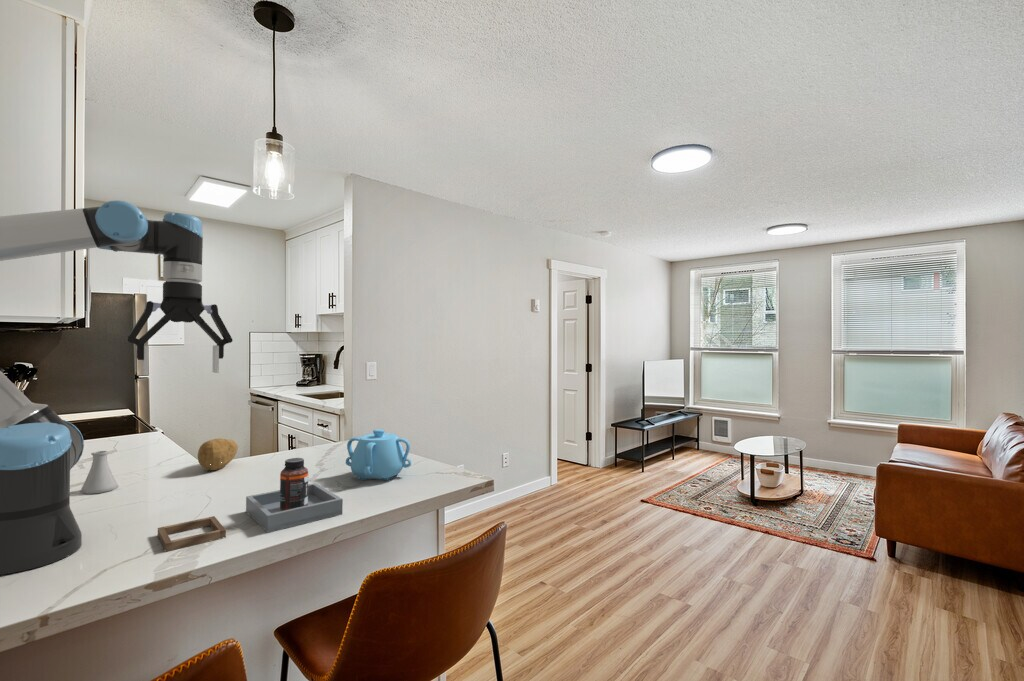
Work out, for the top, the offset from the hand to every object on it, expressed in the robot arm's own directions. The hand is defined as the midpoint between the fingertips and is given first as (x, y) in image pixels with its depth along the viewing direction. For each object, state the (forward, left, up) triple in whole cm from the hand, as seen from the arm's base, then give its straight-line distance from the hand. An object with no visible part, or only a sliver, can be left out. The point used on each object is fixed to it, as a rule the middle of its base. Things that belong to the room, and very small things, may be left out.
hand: (181, 373), depth 112 cm
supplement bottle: (+19, -19, -31) cm, 41 cm away
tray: (+19, -19, -32) cm, 42 cm away
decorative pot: (+48, -4, -32) cm, 58 cm away
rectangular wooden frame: (-1, -19, -32) cm, 37 cm away
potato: (+15, +35, -32) cm, 50 cm away
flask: (-13, +30, -32) cm, 46 cm away
